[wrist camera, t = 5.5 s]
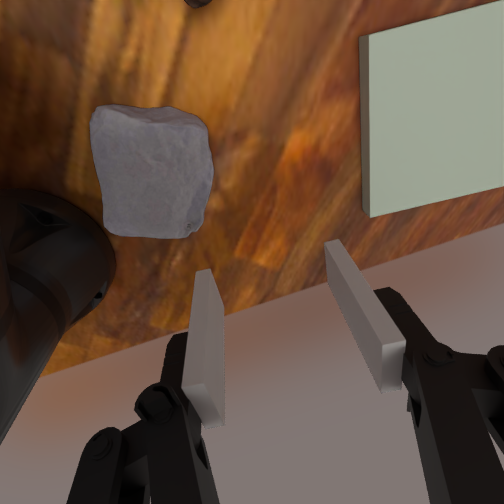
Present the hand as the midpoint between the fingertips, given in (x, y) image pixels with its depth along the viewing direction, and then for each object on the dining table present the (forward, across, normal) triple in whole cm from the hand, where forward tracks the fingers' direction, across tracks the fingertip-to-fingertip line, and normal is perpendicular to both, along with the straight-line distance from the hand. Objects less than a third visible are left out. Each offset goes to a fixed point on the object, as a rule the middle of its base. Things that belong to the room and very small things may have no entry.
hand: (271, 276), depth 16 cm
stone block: (+16, -3, +1) cm, 17 cm away
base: (+17, +19, +1) cm, 26 cm away
